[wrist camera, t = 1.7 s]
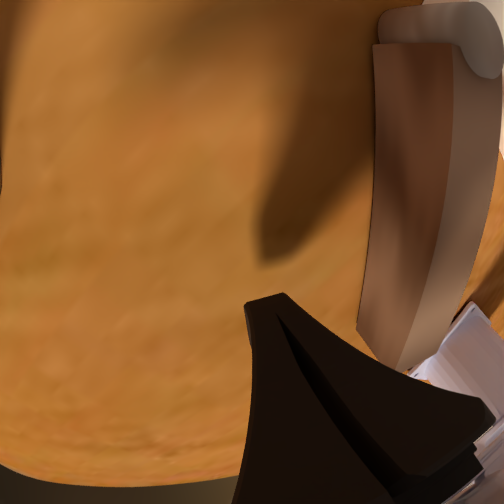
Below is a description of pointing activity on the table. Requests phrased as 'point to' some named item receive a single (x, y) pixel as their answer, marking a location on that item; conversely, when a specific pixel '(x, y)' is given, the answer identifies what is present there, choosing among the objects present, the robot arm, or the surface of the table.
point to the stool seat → (500, 5)
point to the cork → (0, 176)
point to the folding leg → (429, 172)
